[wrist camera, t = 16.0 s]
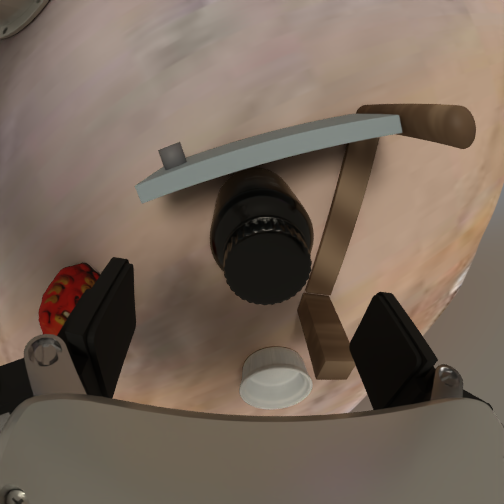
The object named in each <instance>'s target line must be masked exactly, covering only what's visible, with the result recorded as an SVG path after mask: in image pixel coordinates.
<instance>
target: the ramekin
mask: <svg viewBox="0 0 504 504" xmlns="http://www.w3.org/2000/svg"><path fill="white" fill-rule="evenodd" d="M311 390H312V380H311V378H310V376H309V375H308V373H307V370H306V367H305V364H304V361H303V359H302V358H301V357H300V355H299V354H298V353H297V352H295V351H293V350H291V349H288V348H284V347H269V348H265V349H261V350H259V351H256V352H255V353H253V354H252V355H250V356H249V357H248V358H247V360H246V361H245V363H244V366H243V371H242V382H241V384H240V388H239V393H240V396H241V398H242V399H243V400H244V401H245V402H246V403H248V404H249V405H251V406H254V407H257V408H260V409H281V408H286V407H290V406H293V405H295V404H297V403H299V402H301V401H302V400H303V399H305V398H306V397H307V396H308V395H309V393H310V392H311Z"/></svg>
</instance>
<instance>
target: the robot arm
mask: <svg viewBox="0 0 504 504" xmlns="http://www.w3.org/2000/svg"><path fill="white" fill-rule="evenodd" d="M48 1H49V0H0V39H5V38H8V37H10V36H12V35H14V34H16V33H18V32H19V31H20V30H22V29H23V28H24V27H25V26H27V25H28V24H29V23H30V22H31V21H32V20H33V19H34V18H35V17H36V16H37V15H38V14H39V13H40V11H41V10H42V9H43V8H44V7H45V5H46V4H47V3H48ZM135 327H136V315H135V298H134V270H133V264H129V261H128V259H122V258H116V257H113V258H112V259H111V260H110V262H109V263H108V265H107V266H106V267H105V269H104V270H103V272H102V273H101V275H100V276H99V278H98V279H97V281H96V282H95V284H94V285H93V287H92V288H91V289H86V290H85V292H84V293H83V295H82V296H81V298H80V299H79V301H78V302H77V304H76V305H75V307H74V308H73V310H72V312H71V313H70V315H69V316H68V318H67V320H66V321H65V323H64V325H63V326H62V328H61V330H60V331H59V333H58V335H57V336H55V335H53V334H42V335H39V336H36V337H34V338H33V339H31V340H30V341H29V342H28V343H27V345H26V346H25V349H24V358H22V359H19V360H16V361H14V362H11V363H8V364H5V365H2V366H0V504H504V425H503V424H502V423H501V422H500V421H499V420H498V418H497V416H496V415H495V414H494V412H493V408H492V407H491V405H490V404H489V403H486V402H485V401H483V400H481V399H479V398H477V397H476V396H474V395H472V394H470V393H468V392H467V391H465V390H463V379H462V377H461V375H460V374H459V372H458V371H457V370H456V369H454V368H453V367H451V366H449V365H445V364H441V365H439V366H438V367H437V368H436V369H435V368H434V365H435V363H436V362H437V361H438V359H437V358H436V356H435V354H434V353H433V351H432V350H431V348H430V347H429V345H428V344H427V342H426V341H425V339H424V338H423V336H422V335H421V333H420V332H419V330H418V329H417V327H416V326H415V325H414V323H413V322H412V320H411V319H410V317H409V316H408V315H407V313H406V312H405V310H404V309H403V308H402V306H401V305H400V303H399V302H398V301H397V299H396V298H395V297H394V295H393V294H392V293H386V292H378V293H377V294H376V295H374V296H373V298H372V300H371V302H370V304H369V306H368V308H367V310H366V312H365V314H364V316H363V318H362V320H361V322H360V324H359V326H358V328H357V330H356V332H355V334H354V336H353V338H352V340H351V342H350V345H349V350H350V353H351V355H352V358H353V360H354V362H355V365H356V367H357V370H358V372H359V374H360V377H361V379H362V382H363V384H364V387H365V389H366V392H367V394H368V397H369V399H370V402H371V404H372V407H373V410H371V411H363V412H353V413H343V414H330V415H312V416H246V415H228V414H215V413H204V412H195V411H186V410H179V409H171V408H164V407H157V406H151V405H145V404H139V403H134V402H129V401H123V400H117V399H112V398H113V395H114V391H115V388H116V385H117V381H118V378H119V375H120V372H121V369H122V366H123V363H124V360H125V357H126V354H127V351H128V348H129V345H130V342H131V339H132V336H133V334H134V331H135Z"/></svg>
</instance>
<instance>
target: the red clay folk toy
mask: <svg viewBox="0 0 504 504" xmlns="http://www.w3.org/2000/svg"><path fill="white" fill-rule="evenodd" d="M98 278H99V274H97V273H96V272H95V271H94V270H93V269H92V268H91V267H90V266H89V265H88V264H86V263H80V264H77V265H74V266H69V267H65V268H63V269H61V270H60V271H59V273H58V274H57V275H56V277H55V278H54V280H53V281H52V282H51V284H50V285H49V286H48V288H47V290H46V292H45V293H44V295H43V297H42V303H41V306H40V309H39V322H40V326H41V329H42V332H43V334H53V335H55V336H57V335H58V333H59V331H60V330H61V328H62V326H63V325H64V323H65V321H66V320H67V318H68V316H69V315H70V313H71V312H72V310H73V308H74V307H75V305H76V304H77V302H78V301H79V299H80V298H81V296H82V295H83V293H84V292H85V290H86V289H91V288H92V287H93V285H94V284H95V282H96V281H97V279H98Z"/></svg>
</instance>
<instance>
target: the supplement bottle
mask: <svg viewBox="0 0 504 504" xmlns="http://www.w3.org/2000/svg"><path fill="white" fill-rule="evenodd" d="M313 240H314V233H313V226H312V223H311V220H310V218H309V215H308V214H307V212H306V210H305V209H304V207H303V206H302V204H301V203H300V201H299V200H298V199H297V197H296V196H295V194H294V193H293V192H292V190H291V189H290V188H289V186H288V185H287V184H286V182H285V181H284V180H283V179H282V178H281V177H280V176H278V175H277V174H275V173H274V172H272V171H269V170H266V169H262V168H248V169H244V170H241V171H239V172H237V173H235V174H233V175H232V176H231V177H229V178H228V179H227V180H226V181H225V183H224V184H223V186H222V187H221V189H220V191H219V194H218V197H217V201H216V205H215V210H214V215H213V219H212V224H211V230H210V247H211V251H212V254H213V257H214V259H215V261H216V263H217V264H218V266H219V267H220V268H221V270H222V271H223V272H224V276H225V278H226V282H227V284H228V285H229V286H230V289H231V290H232V291H234V292H235V294H236V295H237V296H239V297H240V298H241V299H242V300H247V301H248V302H249V303H255V304H262V305H268V304H271V305H273V304H275V303H281V302H283V301H285V300H288V299H290V298H291V297H293V296H295V295H296V293H297V292H299V291H301V289H302V287H303V286H304V285H305V284H306V281H307V280H308V278H309V273H310V272H311V264H312V261H311V259H310V256H311V255H310V253H311V250H312V246H313Z"/></svg>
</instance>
